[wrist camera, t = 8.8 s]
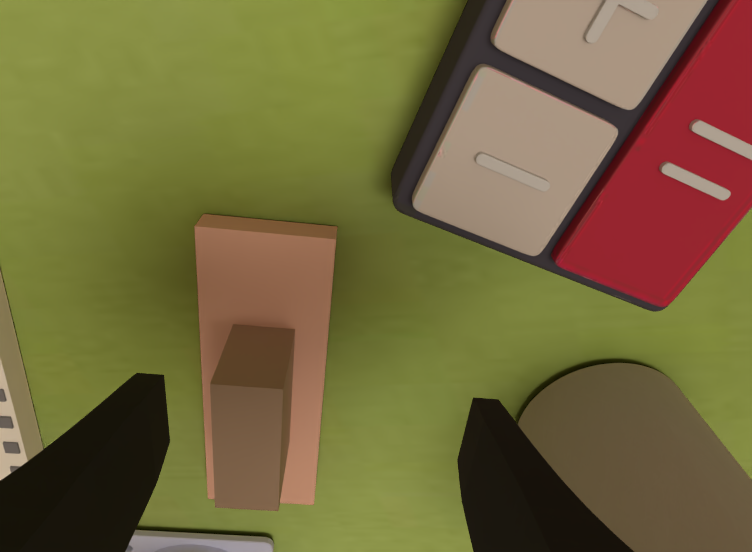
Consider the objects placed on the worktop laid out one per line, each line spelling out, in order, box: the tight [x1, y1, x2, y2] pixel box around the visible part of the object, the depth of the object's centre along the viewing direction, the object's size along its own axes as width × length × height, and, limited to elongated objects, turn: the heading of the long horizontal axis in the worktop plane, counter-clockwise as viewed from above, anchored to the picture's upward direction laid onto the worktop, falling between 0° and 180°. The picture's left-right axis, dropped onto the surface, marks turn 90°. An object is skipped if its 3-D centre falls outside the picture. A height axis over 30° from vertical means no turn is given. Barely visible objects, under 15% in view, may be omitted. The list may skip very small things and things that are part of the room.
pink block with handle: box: [195, 214, 337, 511], centre depth 21 cm, size 14×5×5 cm, turn 174°
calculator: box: [391, 0, 752, 311], centre depth 16 cm, size 11×4×15 cm
